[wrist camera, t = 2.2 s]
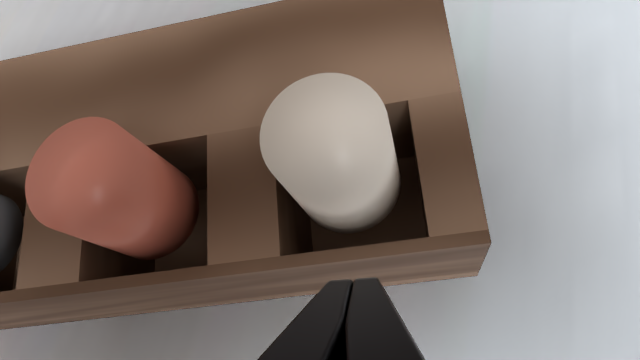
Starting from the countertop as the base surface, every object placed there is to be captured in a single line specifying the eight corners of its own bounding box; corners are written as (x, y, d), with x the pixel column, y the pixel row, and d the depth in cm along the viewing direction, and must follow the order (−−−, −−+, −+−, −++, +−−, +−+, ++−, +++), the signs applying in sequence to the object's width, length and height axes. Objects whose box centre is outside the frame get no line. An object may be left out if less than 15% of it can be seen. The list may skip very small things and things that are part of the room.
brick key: (199, 253, 18) (131, 222, 14) (108, 265, 18) (18, 238, 14) (199, 160, 19) (136, 107, 15) (113, 174, 19) (32, 127, 15)
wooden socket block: (477, 275, 21) (491, 242, 15) (-8, 330, 24) (-139, 320, 19) (437, 59, 24) (436, -33, 18) (18, 136, 28) (-86, 79, 22)
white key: (407, 225, 16) (397, 183, 12) (302, 239, 17) (262, 203, 13) (393, 128, 18) (380, 61, 14) (296, 144, 18) (257, 85, 14)
